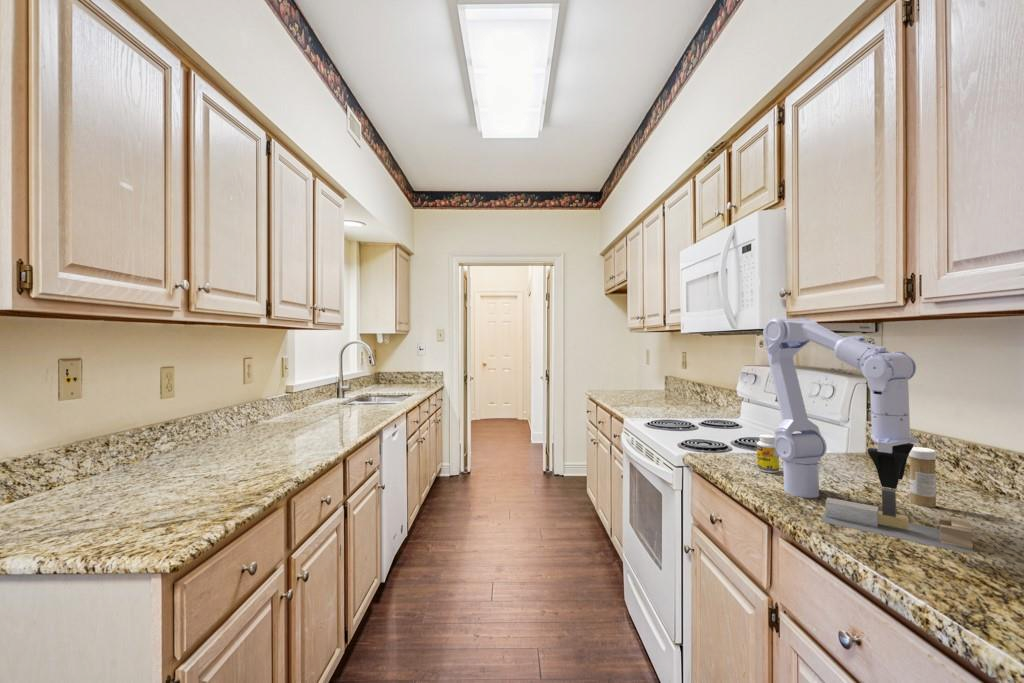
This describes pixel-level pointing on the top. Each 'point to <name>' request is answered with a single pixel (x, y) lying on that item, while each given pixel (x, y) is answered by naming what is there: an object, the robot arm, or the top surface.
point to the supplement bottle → (767, 454)
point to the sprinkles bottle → (923, 477)
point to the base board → (902, 533)
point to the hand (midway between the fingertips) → (892, 482)
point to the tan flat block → (891, 511)
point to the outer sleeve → (852, 512)
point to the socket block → (956, 532)
